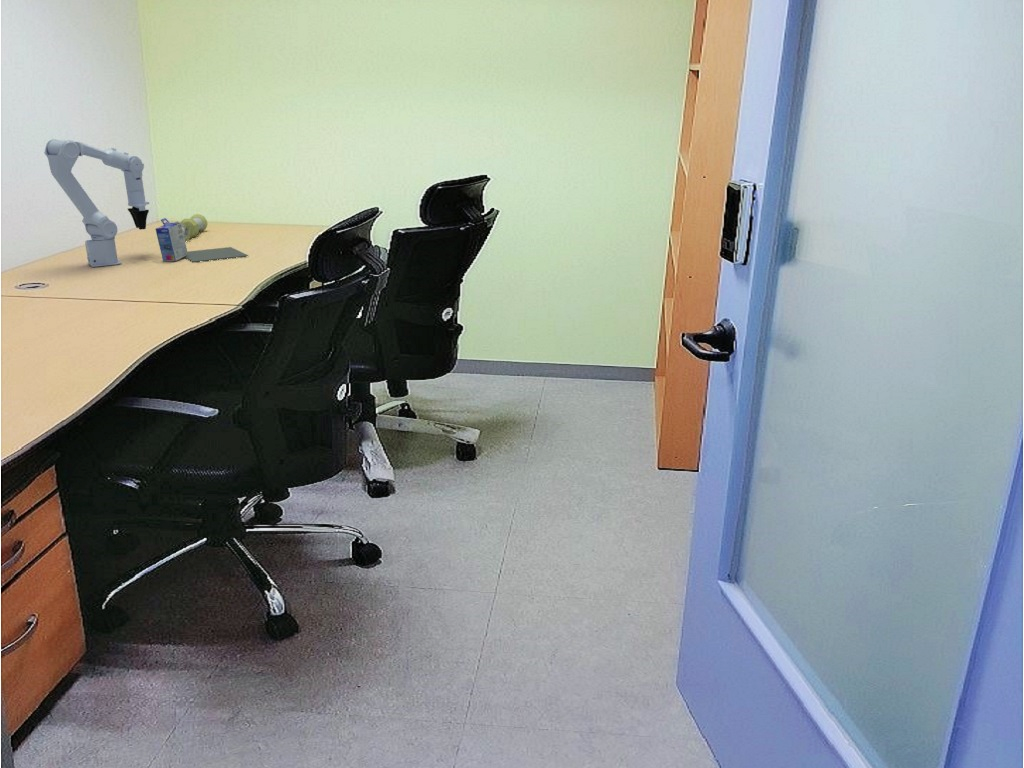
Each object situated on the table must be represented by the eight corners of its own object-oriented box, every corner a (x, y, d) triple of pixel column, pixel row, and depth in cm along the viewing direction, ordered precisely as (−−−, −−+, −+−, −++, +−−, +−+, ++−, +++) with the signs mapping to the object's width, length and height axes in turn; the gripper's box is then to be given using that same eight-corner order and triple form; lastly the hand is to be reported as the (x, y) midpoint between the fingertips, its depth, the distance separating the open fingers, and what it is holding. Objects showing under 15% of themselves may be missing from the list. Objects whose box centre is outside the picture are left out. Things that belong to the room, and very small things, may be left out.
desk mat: (193, 262, 296) (192, 261, 296) (177, 253, 312) (177, 252, 311) (248, 256, 307) (248, 255, 307) (230, 248, 323) (230, 247, 322)
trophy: (189, 213, 357) (167, 223, 329) (207, 213, 358) (186, 223, 330) (191, 232, 360) (170, 244, 332) (209, 232, 361) (189, 243, 332)
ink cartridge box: (174, 255, 307) (166, 216, 301) (188, 255, 306) (181, 215, 301) (161, 261, 298) (153, 221, 292) (176, 261, 297) (168, 221, 292)
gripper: (152, 191, 295) (157, 230, 299) (142, 187, 306) (147, 224, 310) (130, 193, 291) (136, 232, 295) (121, 188, 302) (127, 226, 307)
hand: (140, 228), depth 303 cm, fingers open, 4 cm apart
